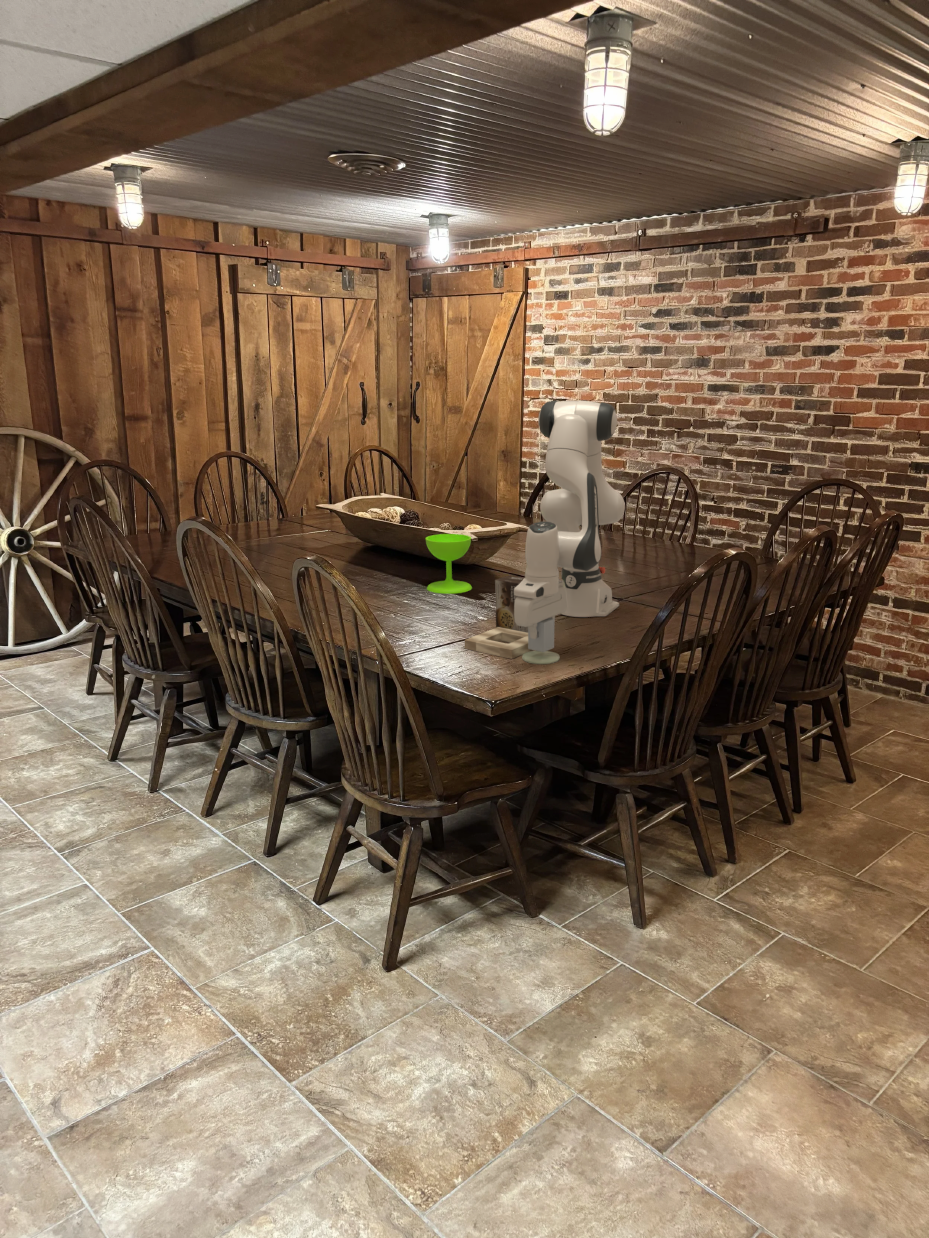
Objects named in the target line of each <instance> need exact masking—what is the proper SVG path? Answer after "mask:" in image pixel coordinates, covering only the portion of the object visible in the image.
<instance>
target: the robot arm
mask: <svg viewBox="0 0 929 1238" xmlns="http://www.w3.org/2000/svg"><path fill="white" fill-rule="evenodd" d="M537 419H538V421H537V422H538V426H539V431H540V433H541V434H542V435H543V437H545V438H547V439H548V443H547V448H546V452H545V453H546V455H545V463H544V469H545V472H546V473H545V474H546V475H547V477H548V479H550V481H551V482H553V483H554V484H555V485H556V486H558V487H560V488H559V489H553V490H548V491H546V492H545V493H544V494H543V497H541V500H540V505H539V508H540V513H541V516H542V517H543V519H544V521H537V522H534V523H532V524H530V525H529V526H528V529H527V532H526V536H525V537H526V538H525V550H524V552H525V553H524V554H525V555H524V556H525V557H524V558H525V562H526V569H525V572H524V577H523V578H524V579H523V580H522V582H521V583H520V584H519V585H518V586H516V587H515V589H514V595H515V596H517V597H516V599H515V603H514V619H515V623H516V624H517V625H518V626H523V627H528V628H529V630H530V637H531V638H532V639H536V638H538V637H539V631H537V629H536V627H537V623H538V622H541V621H543V620H546V619H548V618H553V619H554V621H555V620H556V616H557V615H563V616H568V617H575V618H588V617H589V618H590V617H591V618H592V617H607V616H609V615H610V614H611V613H612V612H614V610H616V609H617V608H619V607H620V602H618V601H616V600H613V590H612V588H611V587H610V586H609V585H608V584H607V583H606V582H605V581H604V580H603V579H602V574H603V575H604V574H605V573H606V567H604V566H602V567H601V566H599V564H600V561H601V556H602V547H601V539H600V537H601V536H600V526H605V525H611V524H616V523H618V522H619V521H620V520H621V519H622V517H623V515H624V513H625V509H626V503H625V500H624V497H623V495H621V492H619V491H617V490H616V489H615V488H613V486H611V485H610V484H609V482H608V481H607V480H606V478H605V475H604V473H603V465H602V441H603V442H604V441H607V440H610V438H612V437H613V436H614V433H615V431H616V429H617V425H618V416H617V411H616V409H615V407H614V406H613V405H612V404H610V403H607V402H603V401H602V402H595V401H592V400H591V401H588V400H580V399H579V400H562V401H557V400H549V401H547V402H545V403H544V404H543V405H542V406H541V408H540V411H539V414H538V417H537ZM580 526H581V529H580ZM558 568H561V572H559V569H558ZM560 573H561V574H560ZM560 575H561V578H560Z"/></svg>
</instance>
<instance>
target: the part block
mask: <svg viewBox="0 0 929 1238" xmlns="http://www.w3.org/2000/svg"><path fill="white" fill-rule="evenodd" d="M536 629H537V631H539V637H538V638H536V639H532V638H531V637H530V630H529V628H528V649H531V651H541V652H545V651H550V650H552V649H554V648H555V620H554V619H553V618H548V619H546V620H543V621H541V622H538V623H537V627H536Z"/></svg>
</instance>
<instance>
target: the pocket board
mask: <svg viewBox="0 0 929 1238" xmlns="http://www.w3.org/2000/svg"><path fill="white" fill-rule="evenodd" d="M504 642H506V643H504ZM464 649H466V650H470V651H474V652H479V653H482V654H487V655H492V656H495V657H496V656H497V657H501V658H505V659H506V658H507V659H511V660H512V659H515V658H517V657H520V656H522V655H523V654H524V653H526V652H530V651H532V650H531V649H528V633H526V632H521V631H516V630H511V629H506V628H501V627H497V628H496V627H494V628H493V629H489V630H487V631H484V632H481V633H479V634H476V635H473V636H471V637H469V638H467V639H464Z"/></svg>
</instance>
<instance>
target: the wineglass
mask: <svg viewBox="0 0 929 1238" xmlns="http://www.w3.org/2000/svg"><path fill="white" fill-rule="evenodd" d="M471 542H472V537H471V536H470V535H467V534H461V533H460V534H459V533H440V534H433V535H429V536H426V537H425V544H426V547H427V548H428V551H429V553H431V555H433V556H434V557H435V558H437V559H438V560H441V561H443V562H445V564H446V565H445V568H446V569H445V570H446V571H445V572H446V574H445V575H446V577H445V580H438V581H434V582H431V583H430V584H428V585H427V587H426V590H427V591H428V592H430V593H431V592H432V593H434V594H446V595H450V594H451V595H452V594H454V595H455V594H462V593H466V592H468V591H471V590H472V589H473V587H472V585H471V584H470V583H468V582H466V581H460V580H454V579H453V574H452V573H453V571H452V570H453V569H452V564H453V563H452V562H453V561H457V560H459V559H460V558H462V557H464V555H466V553H467V552H468V551H469V550H470V549H469V548H470V546H471V544H472V543H471Z"/></svg>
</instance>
